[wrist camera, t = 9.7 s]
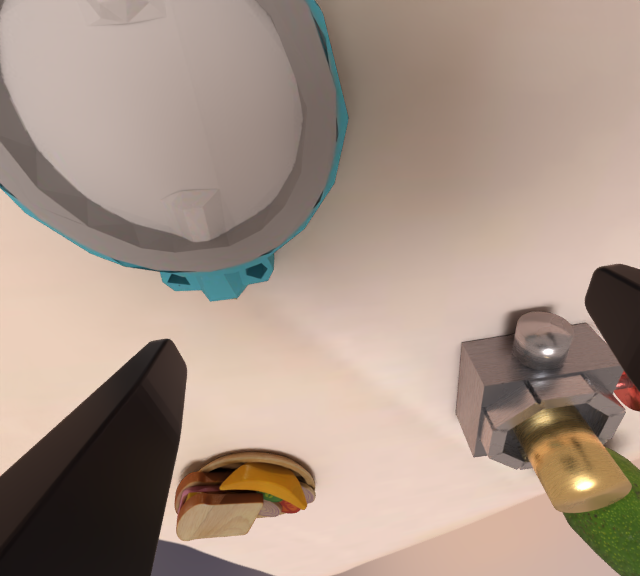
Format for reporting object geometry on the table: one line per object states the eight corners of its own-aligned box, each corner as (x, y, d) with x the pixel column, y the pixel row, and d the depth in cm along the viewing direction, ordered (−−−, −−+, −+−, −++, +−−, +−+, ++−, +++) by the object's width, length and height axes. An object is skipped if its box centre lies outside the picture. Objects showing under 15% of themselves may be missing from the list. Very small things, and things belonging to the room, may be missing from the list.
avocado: (618, 419, 34) (746, 575, 24) (613, 458, 39) (720, 604, 29) (531, 441, 36) (619, 597, 26) (536, 476, 40) (612, 621, 30)
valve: (649, 288, 25) (726, 346, 20) (594, 409, 33) (640, 469, 28) (463, 318, 26) (499, 380, 21) (454, 429, 34) (478, 490, 29)
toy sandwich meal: (283, 513, 43) (282, 561, 39) (167, 493, 38) (153, 545, 35) (336, 461, 36) (341, 512, 33) (204, 430, 32) (192, 485, 28)
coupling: (580, 392, 25) (642, 473, 20) (565, 428, 27) (618, 507, 23) (514, 402, 25) (562, 484, 20) (506, 437, 28) (546, 516, 23)
